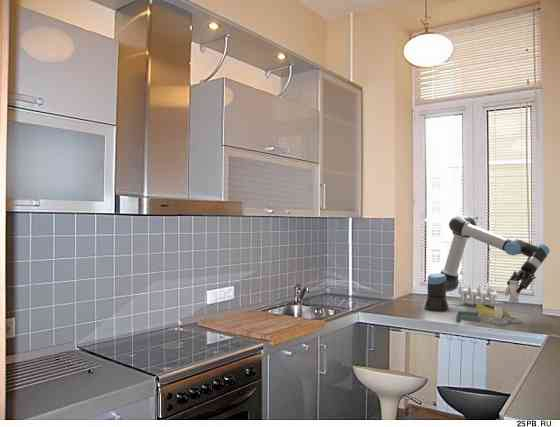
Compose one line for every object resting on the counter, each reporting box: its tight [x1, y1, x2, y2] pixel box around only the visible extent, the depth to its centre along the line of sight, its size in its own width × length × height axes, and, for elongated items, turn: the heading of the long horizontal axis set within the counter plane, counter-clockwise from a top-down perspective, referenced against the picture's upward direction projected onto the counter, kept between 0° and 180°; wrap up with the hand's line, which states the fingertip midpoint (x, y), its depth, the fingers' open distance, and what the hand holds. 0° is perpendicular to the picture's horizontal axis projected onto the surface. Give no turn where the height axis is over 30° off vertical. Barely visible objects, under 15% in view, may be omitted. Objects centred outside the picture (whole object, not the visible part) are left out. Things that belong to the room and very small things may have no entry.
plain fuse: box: [493, 300, 504, 321], centre depth 259 cm, size 5×5×12 cm
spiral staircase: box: [457, 278, 498, 308], centre depth 319 cm, size 18×18×25 cm
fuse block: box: [486, 316, 524, 327], centre depth 261 cm, size 20×9×4 cm, turn 111°
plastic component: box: [475, 301, 510, 318], centre depth 284 cm, size 20×7×10 cm
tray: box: [456, 310, 480, 323], centre depth 272 cm, size 12×12×4 cm
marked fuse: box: [508, 280, 520, 303], centre depth 263 cm, size 5×5×12 cm
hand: (509, 295), depth 262 cm, fingers closed on marked fuse, 4 cm apart
